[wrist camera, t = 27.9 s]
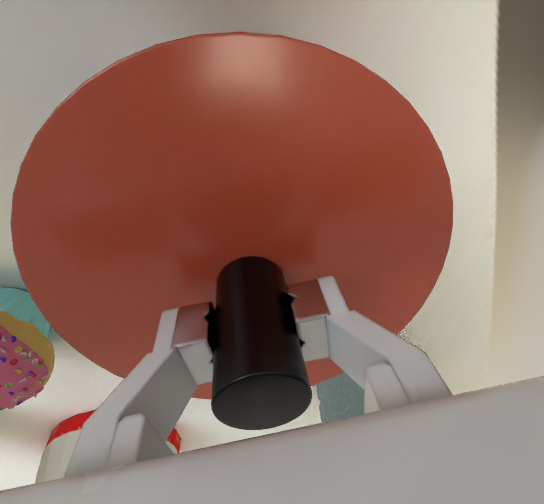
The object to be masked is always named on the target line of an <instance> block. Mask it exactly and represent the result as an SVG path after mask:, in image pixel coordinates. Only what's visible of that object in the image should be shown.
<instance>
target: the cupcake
mask: <svg viewBox="0 0 544 504" xmlns="http://www.w3.org/2000/svg"><path fill="white" fill-rule="evenodd" d="M49 330H50V324H49V322H48V321H47V320H46V319H45V318H44V316H43V315H42V313H41V312H40V310H39V309H38V307H37V306H36V304H35V303H34V301H33V300H32V298H31V296H30V294H29V292H26V291H23V290H20V289H15V288H0V410H3V409H5V408H8V409H12V408H14V405H19V404H21V403H23V401H25V400H27V399H29V398H31V397H33V396H34V395H35V398H36V395H37V393H39V392H40V391H42V390H43V388H44V387H43V386H44V385H45V384H46V383H47V381H48V380H49V378H50V375H51V373H52V371H53V367H54V359H55V356H54V349H53V346H52V344H51V342H50V340H49V339H48V337H49ZM10 407H11V408H10Z"/></svg>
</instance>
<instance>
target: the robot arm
mask: <svg viewBox="0 0 544 504" xmlns="http://www.w3.org/2000/svg"><path fill="white" fill-rule="evenodd" d="M286 288H287V294H288V298H289V303H290V307H291V310H292V314H293V319H294V323H295V328H296V332H297V336H298V338H299V341H300V345H301V349H302V354H303V358H304V362H306V361H312V360H317V359H323V358H328V357H330V359H331V360H332V361H333V362H334V363H335V364H337V365H338V366H339V367H340V368H341V369H342V370H343V371H344V372H345V373H346V374H347V375H349V376H350V377H351V378H352V379H353V380H354V381H355V382H356V383H357V384H358V385H359V386H360V387H362V388H363V389H364V390H365V396H364V414H362V415H357V416H352V417H348V418H343V419H338V420H333V421H329V422H324V423H319V424H314V425H310V426H305V427H300V428H296V429H291V430H286V431H281V432H277V433H272V434H267V435H263V436H258V437H253V438H248V439H244V440H239V441H234V442H230V443H225V444H220V445H215V446H211V447H206V448H201V449H197V450H192V451H187V452H182V453H178V454H174V453H173V452H172V450H171V449H170V448H169V446H168V445H167V444H166V443H165V442H166V440H167V438H168V436H169V435H170V433H171V431H172V430H173V428H174V426H175V424H176V423H177V421H178V419H179V417H180V416H181V414H182V412H183V410H184V409H185V407H186V405H187V403H188V402H189V400H190V398H191V397H192V395H193V393H194V391H195V390H196V388H197V386H196V385H200V384H204V383H208V382H212V376H213V353H214V330H215V307H214V305H213V303H212V302H211V301H210V302H205V303H199V304H194V305H188V306H183V307H180V308H174V309H169V310H164V312H163V313H162V315H161V319H160V323H159V327H158V331H157V335H156V339H155V343H154V347H153V351H152V353H148V354H147V355H146V356H145V357H144V358H143V359H142V360H141V361H140V362H139V363H138V364H137V366H136V367H135V368H134V369H133V370H132V371H131V372H130V373H129V374H128V375H127V377H126V378H125V379H124V380H123V381H122V382H121V383H120V384H119V385H118V386H117V387H116V389H115V390H114V391H113V392H112V393H111V394H110V395H109V396H108V397H107V398H106V400H105V401H104V402H103V403H102V404H101V405H100V406H99V407H98V408H97V409H96V411H95V412H94V413H93V414H92V415H91V416H90V417H89V418H88V419H87V420H86V421H85V423H84V424H83V426H82V429H81V432H80V434H79V437H78V440H77V442H76V445H75V448H74V450H73V453H72V456H71V458H70V461H69V463H68V466H67V469H66V471H65V474H64V477H63V478H59V479H55V480H50V481H45V482H40V483H36V484H31V485H26V486H21V487H17V488H12V489H7V490H2V491H0V504H544V376H541V377H537V378H532V379H527V380H523V381H518V382H513V383H508V384H504V385H499V386H494V387H489V388H485V389H480V390H475V391H470V392H466V393H461V394H456V395H452V393H451V392H450V390H449V388H448V387H447V385H446V384H445V382H444V381H443V379H442V377H441V376H440V374H439V373H438V371H437V370H436V368H435V366H434V365H433V363H432V362H431V360H430V359H429V357H428V355H427V354H426V352H424V351H423V350H421V349H419V348H418V347H416V346H414V345H412V344H411V343H409V342H407V341H406V340H404V339H402V338H401V337H399V336H397V335H396V334H394V333H392V332H391V331H389V330H387V329H385V328H384V327H382V326H380V325H379V324H377V323H375V322H374V321H372V320H370V319H369V318H367V317H365V316H364V315H362V314H360V313H358V312H357V311H355V310H352V311H349V309H348V306H347V304H346V302H345V300H344V298H343V296H342V293H341V291H340V289H339V287H338V285H337V283H336V280H335V278H334V277H333V276H332V275H330V276H326V277H321V278H317V279H314V280H309V281H305V282H300V283H295V284H291V285H286Z"/></svg>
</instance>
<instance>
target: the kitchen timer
mask: <svg viewBox="0 0 544 504" xmlns="http://www.w3.org/2000/svg"><path fill="white" fill-rule="evenodd" d="M94 412H95V411H92V412H88V413H84V414H79V415H76V416H73V417H71V418H69V419H67V420H65V421H63V422H61V423H60V424H59V425H58V426H57V427H56V428H55V429H54V430H53V432H52V434H51V436H50V438H49V440H48V442H47V445H46V447H45V449H44V452H43V455H42V458H41V462H40V465H39V469H38V472H37V477H36V483H40V482H45V481H50V480H55V479H59V478H63V477H64V474H65V471H66V469H67V466H68V463H69V461H70V458H71V456H72V453H73V450H74V448H75V445H76V442H77V440H78V437H79V434H80V432H81V429H82V426H83V424H84V423H85V421H86V420H87V419H88V418H89V417H90V416H91V415H92V414H93V413H94ZM180 439H181V438H180V437H179V435H178V433H177V431H176V429H174V428H173V430H172V431H171V433H170V435H169V436H168V438H167V440H166V442H165V443H166V444H167V445H168V446H169V448H170V449H171V450H172V452H173V453H174V454H178V453H179V450H180ZM36 483H35V484H36Z"/></svg>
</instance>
